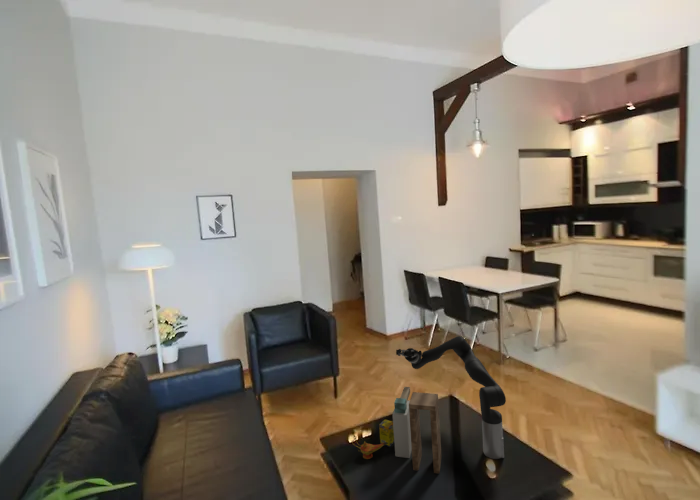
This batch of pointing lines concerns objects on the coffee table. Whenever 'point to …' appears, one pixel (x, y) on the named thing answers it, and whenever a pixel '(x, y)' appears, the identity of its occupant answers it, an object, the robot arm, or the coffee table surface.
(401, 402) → the mallet
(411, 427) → the brown tall legged stand
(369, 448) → the magic lamp
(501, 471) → the coffee table surface
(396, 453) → the grey pedestal
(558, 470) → the coffee table surface
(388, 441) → the supplement box
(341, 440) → the coffee table surface
